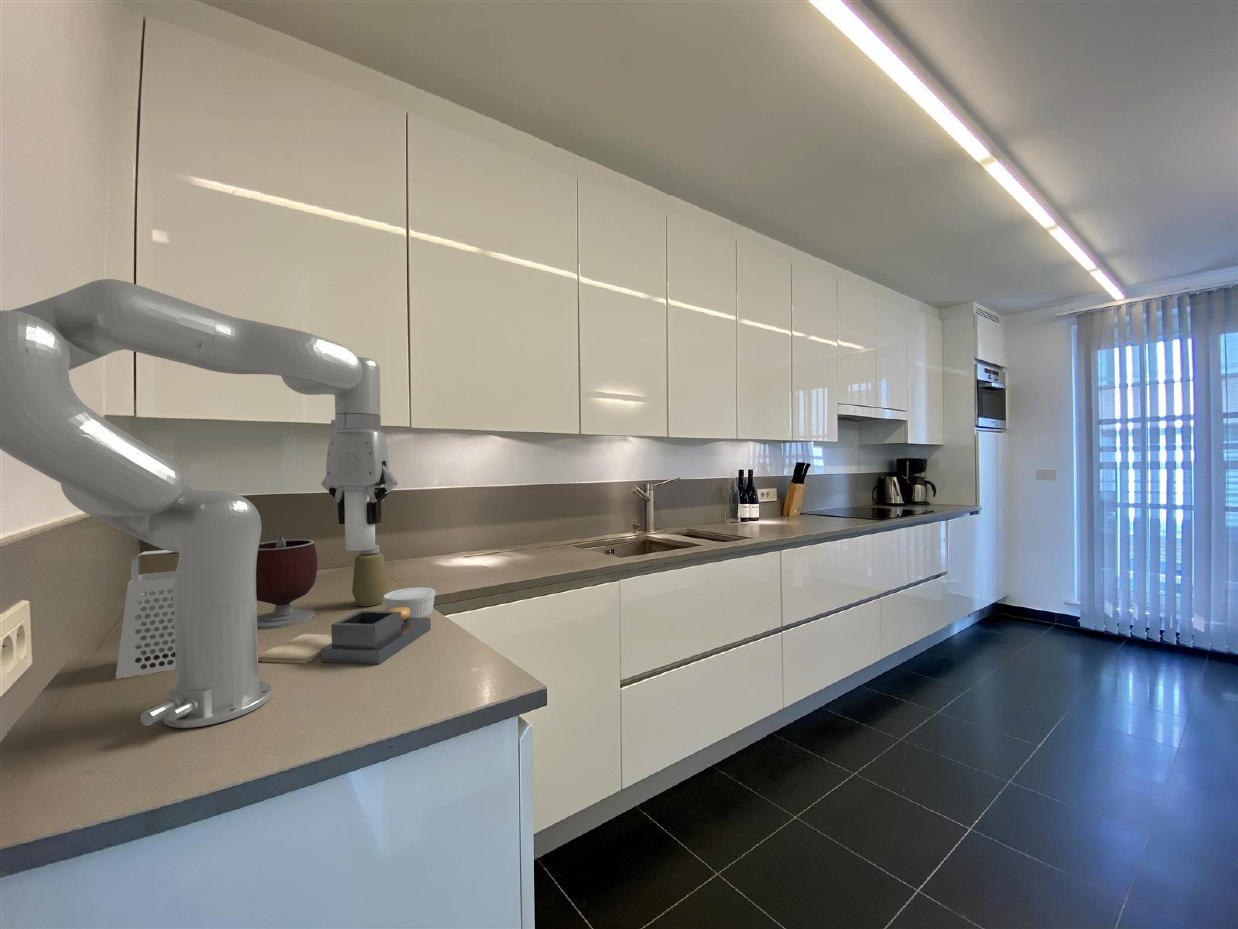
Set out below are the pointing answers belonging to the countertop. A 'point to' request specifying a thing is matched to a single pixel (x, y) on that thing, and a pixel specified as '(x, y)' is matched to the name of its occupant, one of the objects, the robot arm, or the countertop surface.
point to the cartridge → (357, 520)
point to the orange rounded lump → (404, 612)
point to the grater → (147, 621)
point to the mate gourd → (285, 580)
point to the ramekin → (412, 600)
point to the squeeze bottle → (369, 577)
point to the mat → (297, 649)
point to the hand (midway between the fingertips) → (359, 522)
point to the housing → (372, 637)
